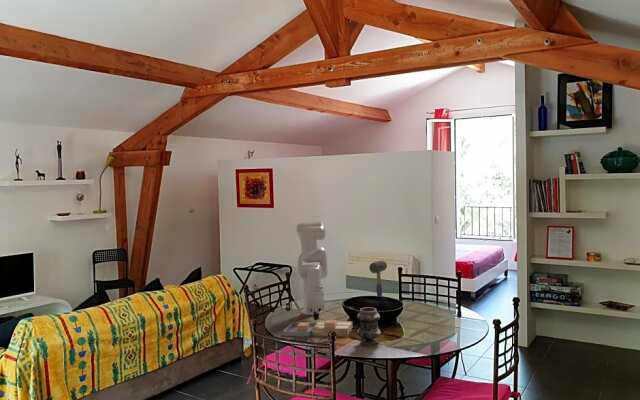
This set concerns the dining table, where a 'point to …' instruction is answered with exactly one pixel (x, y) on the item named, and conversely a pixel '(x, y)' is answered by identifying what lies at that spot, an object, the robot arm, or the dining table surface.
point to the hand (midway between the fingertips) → (316, 319)
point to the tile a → (303, 326)
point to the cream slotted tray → (332, 329)
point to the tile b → (330, 324)
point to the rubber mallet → (378, 274)
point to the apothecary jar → (368, 326)
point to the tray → (292, 331)
